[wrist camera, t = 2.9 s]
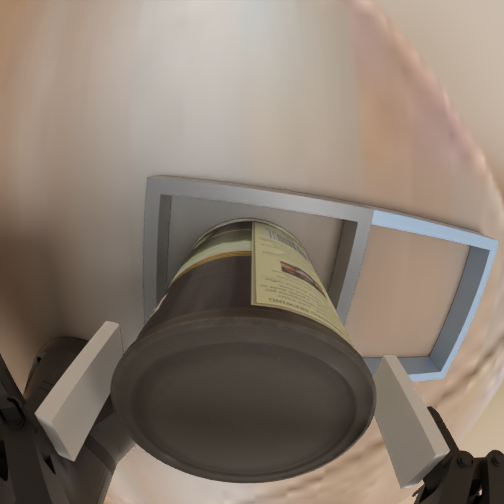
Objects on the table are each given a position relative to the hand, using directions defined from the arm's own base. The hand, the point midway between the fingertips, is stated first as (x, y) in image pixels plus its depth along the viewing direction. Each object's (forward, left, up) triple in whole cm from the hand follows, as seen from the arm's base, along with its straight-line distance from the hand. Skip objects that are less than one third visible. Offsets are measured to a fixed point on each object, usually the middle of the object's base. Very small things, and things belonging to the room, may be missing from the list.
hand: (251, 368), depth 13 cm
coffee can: (0, 0, -10) cm, 10 cm away
